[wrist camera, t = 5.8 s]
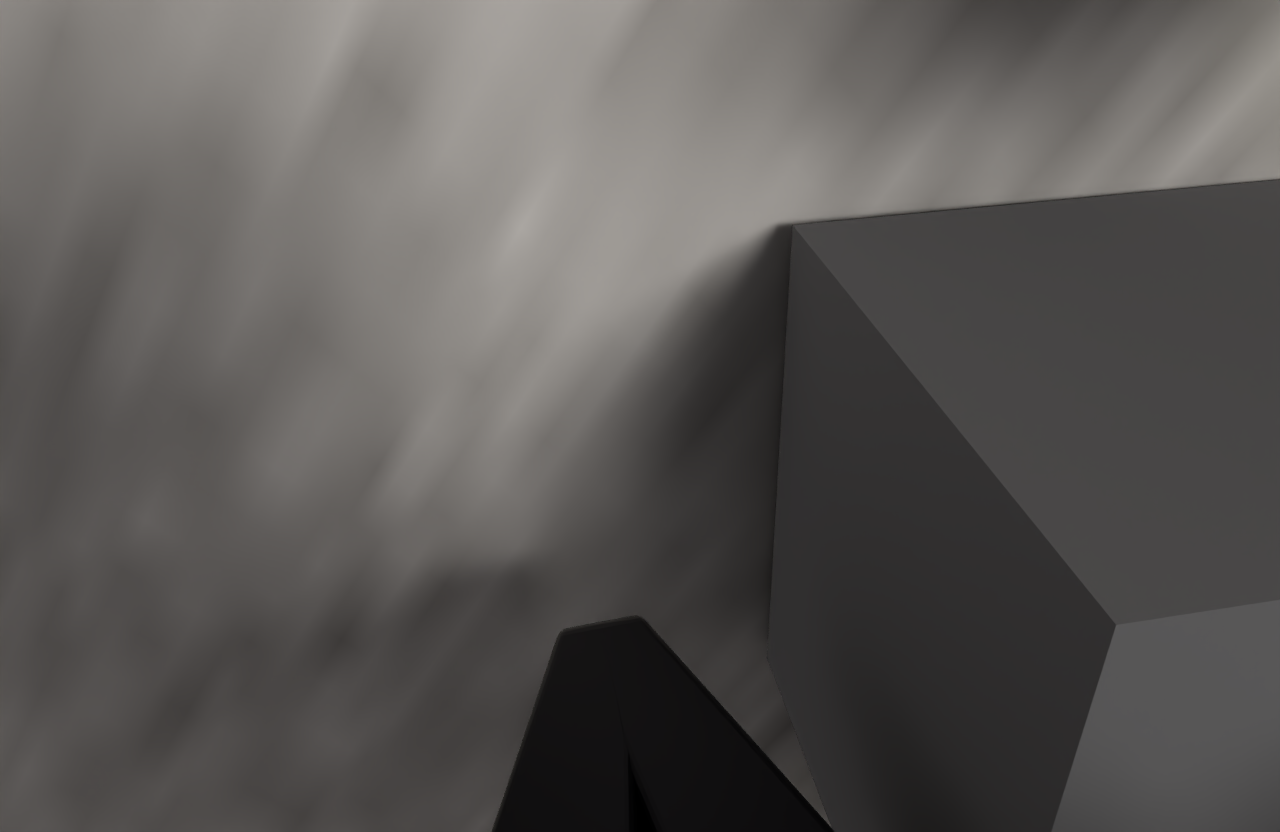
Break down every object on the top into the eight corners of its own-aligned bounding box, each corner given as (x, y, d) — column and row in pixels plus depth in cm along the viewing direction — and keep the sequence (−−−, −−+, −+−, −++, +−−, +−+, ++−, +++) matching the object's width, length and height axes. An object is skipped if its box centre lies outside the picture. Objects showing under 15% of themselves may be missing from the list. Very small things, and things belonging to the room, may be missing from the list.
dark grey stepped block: (1263, 582, 12) (1677, 983, 8) (766, 658, 11) (951, 1145, 7) (1434, 165, 9) (2193, 458, 5) (793, 225, 8) (1116, 625, 4)
